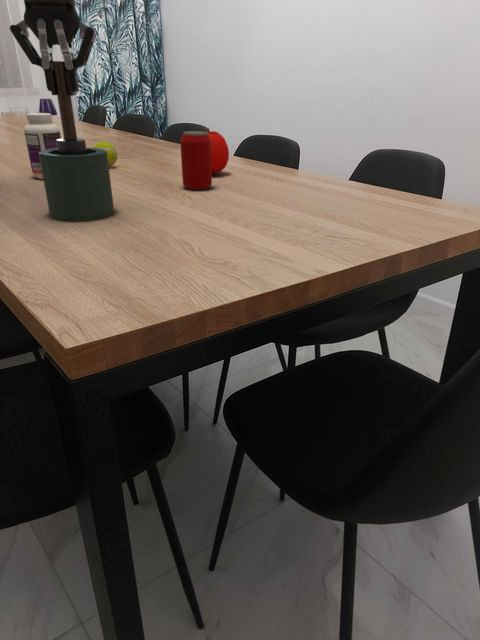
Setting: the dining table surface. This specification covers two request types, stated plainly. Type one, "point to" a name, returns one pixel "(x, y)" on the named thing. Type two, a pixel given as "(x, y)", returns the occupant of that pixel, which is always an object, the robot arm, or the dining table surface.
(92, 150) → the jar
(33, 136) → the pill bottle
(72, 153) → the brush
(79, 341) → the dining table surface
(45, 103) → the toy lamp
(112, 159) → the tennis ball
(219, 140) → the tomato
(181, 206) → the dining table surface
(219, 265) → the dining table surface
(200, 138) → the beverage can
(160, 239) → the dining table surface
